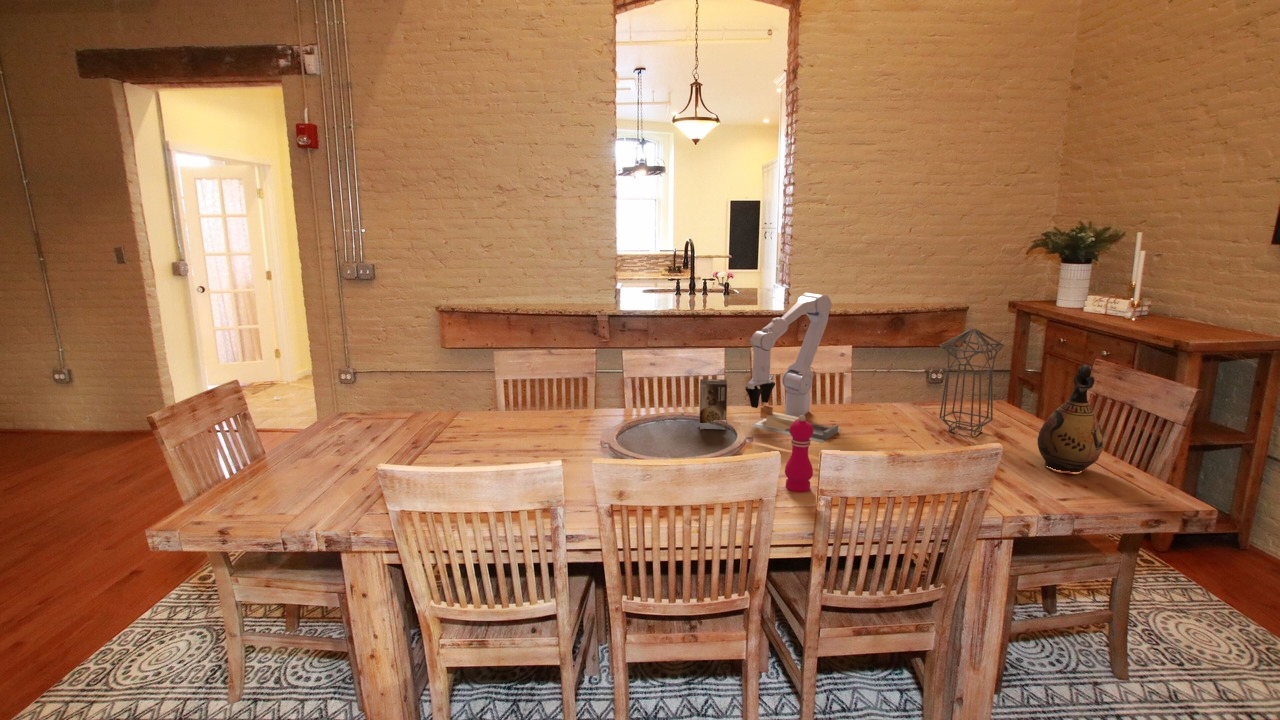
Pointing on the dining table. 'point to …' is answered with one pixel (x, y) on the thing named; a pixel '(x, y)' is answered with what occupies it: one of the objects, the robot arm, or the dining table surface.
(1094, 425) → the ceramic jug
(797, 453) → the pepper mill
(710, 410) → the cookie box
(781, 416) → the birch block
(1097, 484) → the dining table surface
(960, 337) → the geometric lantern
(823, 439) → the lane board
